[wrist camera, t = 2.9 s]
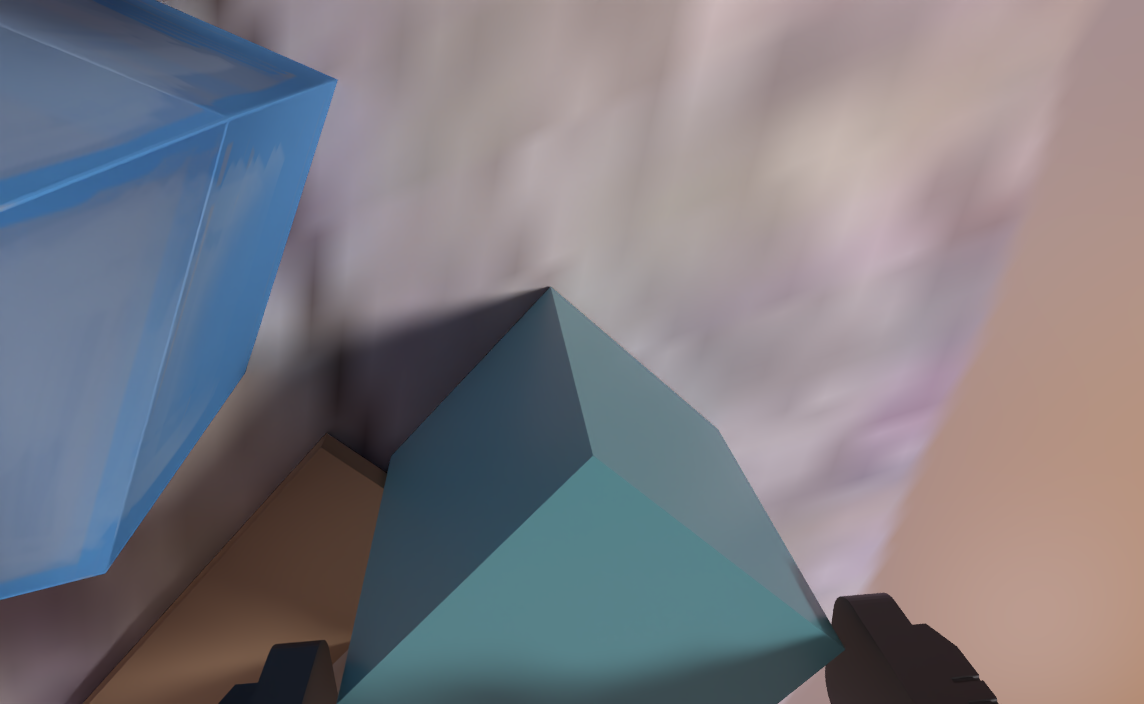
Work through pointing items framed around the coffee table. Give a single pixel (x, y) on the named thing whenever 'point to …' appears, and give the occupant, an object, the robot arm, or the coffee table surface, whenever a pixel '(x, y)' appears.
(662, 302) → the coffee table surface
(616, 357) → the teal rectangular block
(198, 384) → the perfume bottle
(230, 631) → the brown square peg stand
